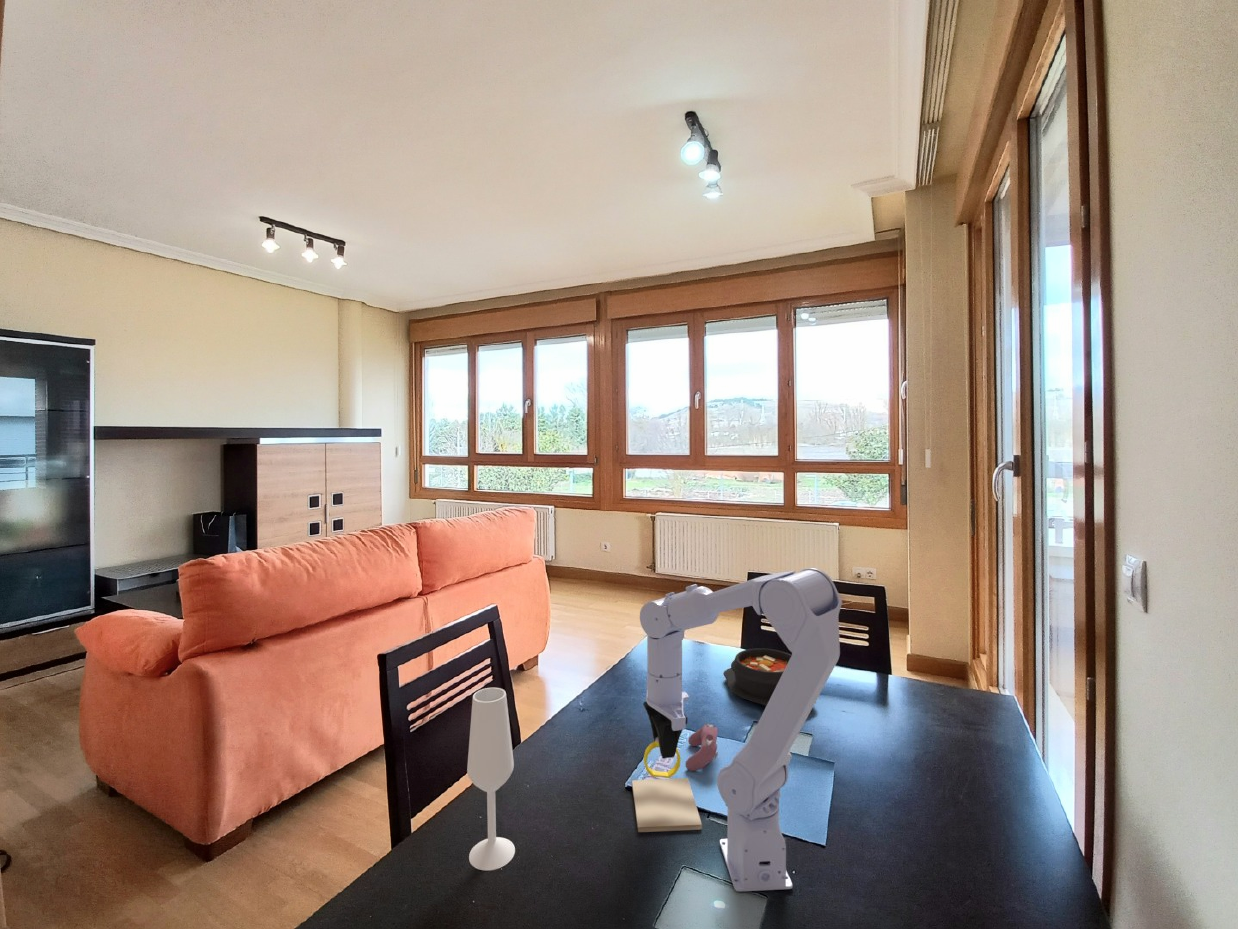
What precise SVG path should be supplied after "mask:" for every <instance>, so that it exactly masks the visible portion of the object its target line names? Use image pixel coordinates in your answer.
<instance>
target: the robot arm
mask: <svg viewBox="0 0 1238 929" xmlns="http://www.w3.org/2000/svg"><path fill="white" fill-rule="evenodd" d="M842 604H843V600H842V598H841V596H840V594H839V590H837V588H836V585H835V583H834V581H833V579H832V578H831V577H830V576H829V575H828V574H827V573H826V572H825V571H823V570H821V569H818V568H813V567H809V568H808V567H807V568H804V569H802V570H800V571H798V572H797V573H796V570H791V571H783V572H777V573H772V574H767V575H762V576H761V575H760V576H758V577H755V578H752V579H749V580H746V581H743V582H740V583H737V584H734V585H731V586H729V587H728V586H727V587H725V588H722V589H718V590H716V591H713V590H712V589H710V588H709V587H706V586H698V584H696V583H695V584H692V585H688V586H686V587H685V591H681V592H679V593H678V592H677V593H675V592H674V591H673V592H669V593H666V594H665V597H662V598H659V599H656V600H649V601H648V602H647V603H645V604H643V606H642V607H641V609H640V611H639V622H640V625H641V628H642V630H643V632H644V633H645V634H646V637H647V638H646V642H647V643H646V646H647V647H646V648H647V650H646V652H647V653H646V654H647V657H646V659H647V660H646V661H647V662H646V663H647V672H646V673H647V674H646V675H647V677H646V678H647V679H646V698H645V699H646V700H645V701H644V702H643V704H642V705H643V707H644V709H645V711H646V713H647V717H648V719H649V723H650V727H651V728H650V729H651V732H652V737H653V742H654V741H655V740H656V738H657V737H658V739H659V747H660V748H659V747H658V748H659V752H660V755H661V756H660V757H661V758H662V759H669V758H675V756H676V749H678V744H679V741H680V737H681V736H682V733H683V731H684V730H686V728H687V727H686V726H687V725H688V721H689V720H688V719H689V718H688V717H687V716H686V714H685V713H684V702H688V701H690V696H689V695H688V693H687V692H686V691H683V640H684V639H685V631H686V630H687V631H688V630H690V629H695V628H699V627H703V626H708V625H712V624H714V623H715V622H716V621H717V619H718V617H719V616H720V613H724V612H728V611H732V610H737V609H742V608H747V607H748V608H749V607H753V609H754V611H755V613H756V614H757V615H758V616H762V615H764V616H765V619H767V621H768V622H769V624H770V625H771V627H772V628H773V629H774V631H775V632H776V633H777V635H778V637H779V638H780V639H781V641H782V642H783V644H784V645H785V646H786V648H787V649H788V650H789V651H790V652H791V655H792V656H791V658H790V660H789V662H788V664H787V666H786V668H785V670H784V672H783V674H782V676H781V678H780V680H779V682H778V684H777V686H776V688H775V690H774V692H773V694H772V696H771V698H770V700H769V702H768V704H767V706H765V709H764V710H763V712H762V714H761V716H760V718H759V720H758V722H757V723H756V726H755V728H754V730H753V732H752V734H751V736H750V738H749V740H748V741H747V742H746V744H745V745H743V747H742V748H740V750H739V751H738V752H737V754H735V755H734V757H733V759H732V761H731V763H730V764H728V765H726V766H724V767H722V768H721V769H720V770H719V771H718V774H717V777H716V782H717V789H718V793H719V795H720V797H721V799H722V801H723V803H724V804H725V806H726V807H727V836H726V837H727V838H721V839H719V845H720V848H721V852H722V854H723V857H724V861H725V864H726V867H727V870H728V872H729V876H730V880H731V882H732V885H733V889H734V891H736V892H737V893H738V892H741V893H742V892H752V891H753V892H756V891H759V892H761V891H775V890H776V891H777V890H780V891H781V890H791V889H793V886H794V885H793V882H792V880H791V878H790V875H789V873H788V871H787V845H786V841H785V838H784V835H783V833H782V831H781V828H780V827H781V826H780V797H781V789H782V788H783V787H784V786H786V784H787V782H788V780H789V774H790V773H789V766H790V761H791V760H792V757H793V755H792V754H791V752H790V751H791V748H792V747H793V744H794V743H795V741H796V739H797V737H798V735H799V733H800V732H801V730H802V728H803V726H804V724H805V722H806V720H807V719H808V717H809V715H810V713H811V711H812V709H813V708H814V706H815V704H816V703H815V702H817V700H818V698H820V697H819V696H820V695H821V692H822V691H823V689H824V687H825V685H826V683H827V681H828V680H829V678H830V676H831V674H832V672H833V671H834V669H835V666H836V665H837V663H838V662H839V659H840V655H841V647H840V625H839V624H840V622H839V614H840V611H841V607H842Z"/></svg>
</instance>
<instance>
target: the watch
mask: <svg viewBox="0 0 1238 929" xmlns="http://www.w3.org/2000/svg"><path fill="white" fill-rule="evenodd" d="M656 748H659V749H660V747H659V739H658V737H657V738H656V740H655V741H654V740H653V742H650V744H648V746H647V747H646V748H645V751H644V753H643V754H644V755H643V762H644V763H643V764H644V767H645V770H646V772H647V773H648V774H649V775H650V776H651V777H653V778H654V777H655V778H665V779H671V778H672V777H673V776H674V775H676V774H677V772H678V771H679V769H680V766H681V759H682V758H681V754H680V752H679V749H678V748H677V749H676V753H675V755H676V762H675V764H674V766H673V767H672V768H670V769H669V770H668V771H659V770H653V769H652V768H651V767H650V766H649V765H648V762H647V761H648V757H649V755H650V753H651V752H652V751H653V750H654V749H656Z"/></svg>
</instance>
